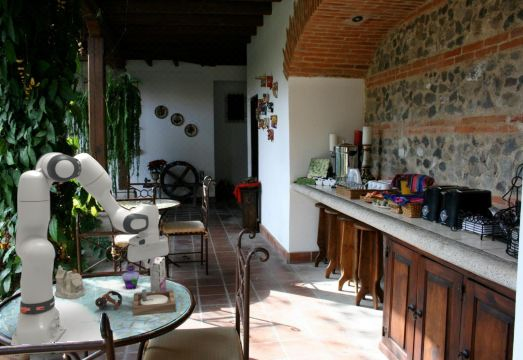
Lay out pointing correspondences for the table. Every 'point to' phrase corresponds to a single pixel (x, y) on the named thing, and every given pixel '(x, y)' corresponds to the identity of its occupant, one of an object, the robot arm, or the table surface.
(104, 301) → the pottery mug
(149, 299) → the dial
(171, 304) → the square wooden tray
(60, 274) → the ceramic cottage
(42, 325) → the robot arm
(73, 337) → the table surface
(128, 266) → the potion bottle
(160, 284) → the candy bar box
